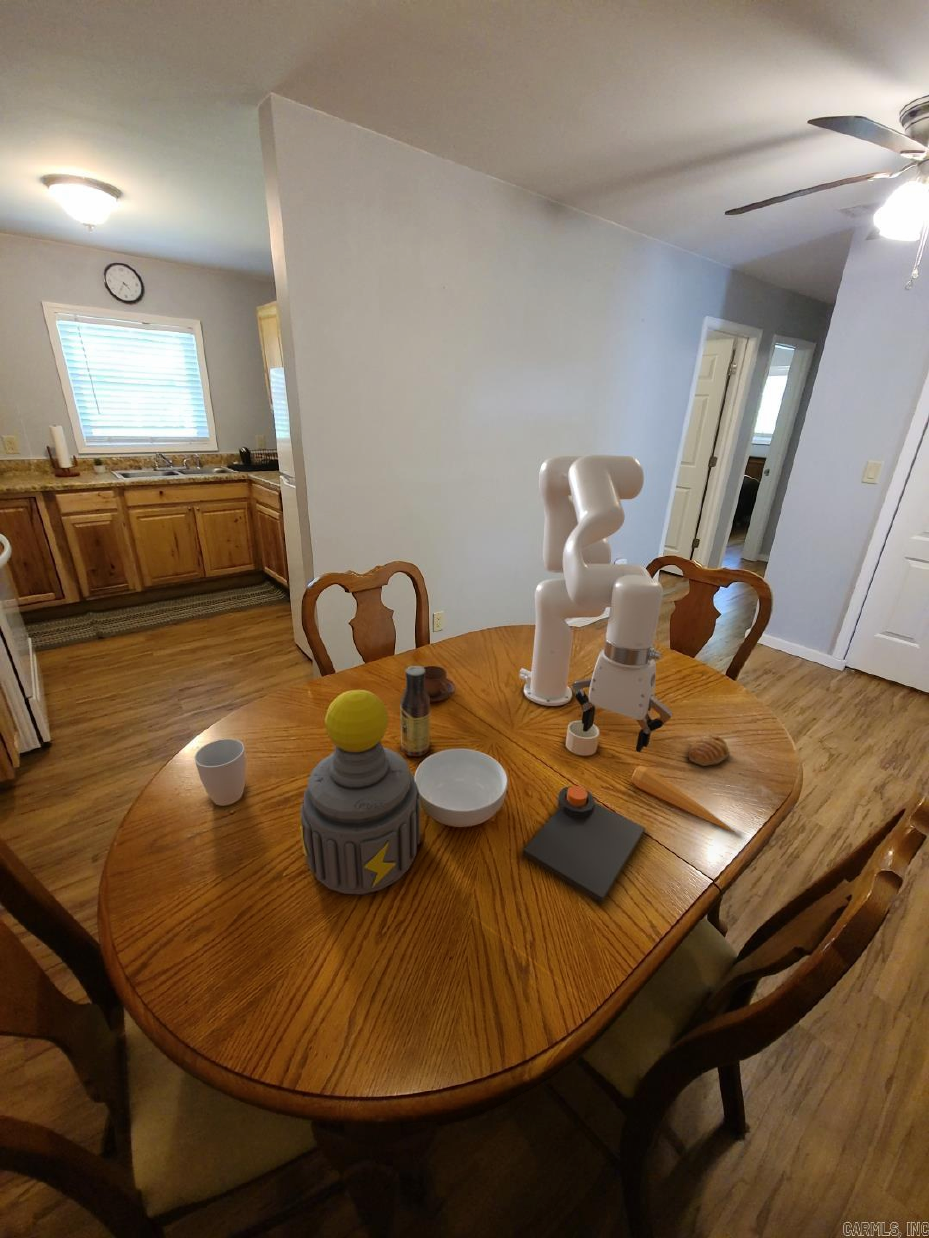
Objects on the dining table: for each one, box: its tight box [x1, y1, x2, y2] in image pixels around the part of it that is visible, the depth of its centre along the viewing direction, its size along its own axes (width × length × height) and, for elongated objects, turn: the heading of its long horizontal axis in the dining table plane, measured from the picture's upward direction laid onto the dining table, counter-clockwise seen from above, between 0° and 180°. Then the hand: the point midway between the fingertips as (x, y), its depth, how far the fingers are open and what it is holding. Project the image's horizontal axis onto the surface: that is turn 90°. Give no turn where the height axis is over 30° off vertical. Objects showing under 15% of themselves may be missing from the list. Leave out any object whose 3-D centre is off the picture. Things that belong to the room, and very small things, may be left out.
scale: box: [522, 785, 646, 905], centre depth 86 cm, size 15×18×3 cm
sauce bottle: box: [399, 665, 431, 758], centre depth 105 cm, size 6×6×20 cm
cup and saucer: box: [423, 665, 456, 703], centre depth 129 cm, size 12×12×6 cm
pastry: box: [688, 734, 731, 767], centre depth 109 cm, size 9×7×4 cm
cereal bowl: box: [413, 748, 509, 828], centre depth 92 cm, size 17×17×7 cm
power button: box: [566, 785, 588, 807], centre depth 92 cm, size 4×4×2 cm
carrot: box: [630, 765, 738, 834], centre depth 95 cm, size 20×4×4 cm, turn 48°
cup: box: [193, 738, 247, 807], centre depth 92 cm, size 8×8×10 cm
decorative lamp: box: [299, 689, 423, 895], centre depth 78 cm, size 19×19×30 cm
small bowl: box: [565, 720, 600, 757], centre depth 111 cm, size 7×7×4 cm
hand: (613, 737), depth 89 cm, fingers open, 9 cm apart
